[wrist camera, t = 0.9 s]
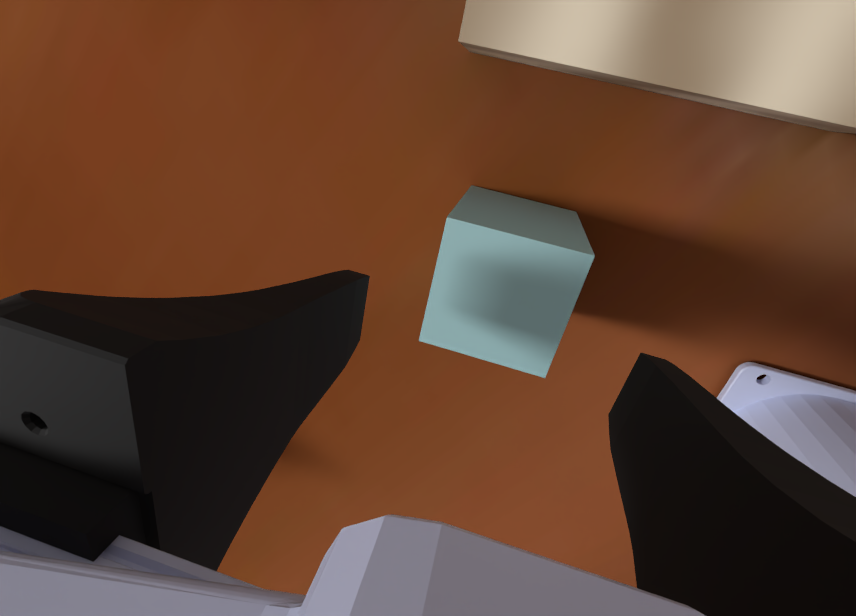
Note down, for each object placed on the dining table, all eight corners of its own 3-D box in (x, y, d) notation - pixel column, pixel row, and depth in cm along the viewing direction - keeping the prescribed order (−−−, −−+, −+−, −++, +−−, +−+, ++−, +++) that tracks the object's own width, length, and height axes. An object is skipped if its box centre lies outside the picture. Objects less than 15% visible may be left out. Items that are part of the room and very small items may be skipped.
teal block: (576, 211, 18) (594, 256, 13) (541, 305, 20) (544, 377, 15) (471, 185, 18) (447, 217, 13) (448, 279, 20) (418, 340, 15)
